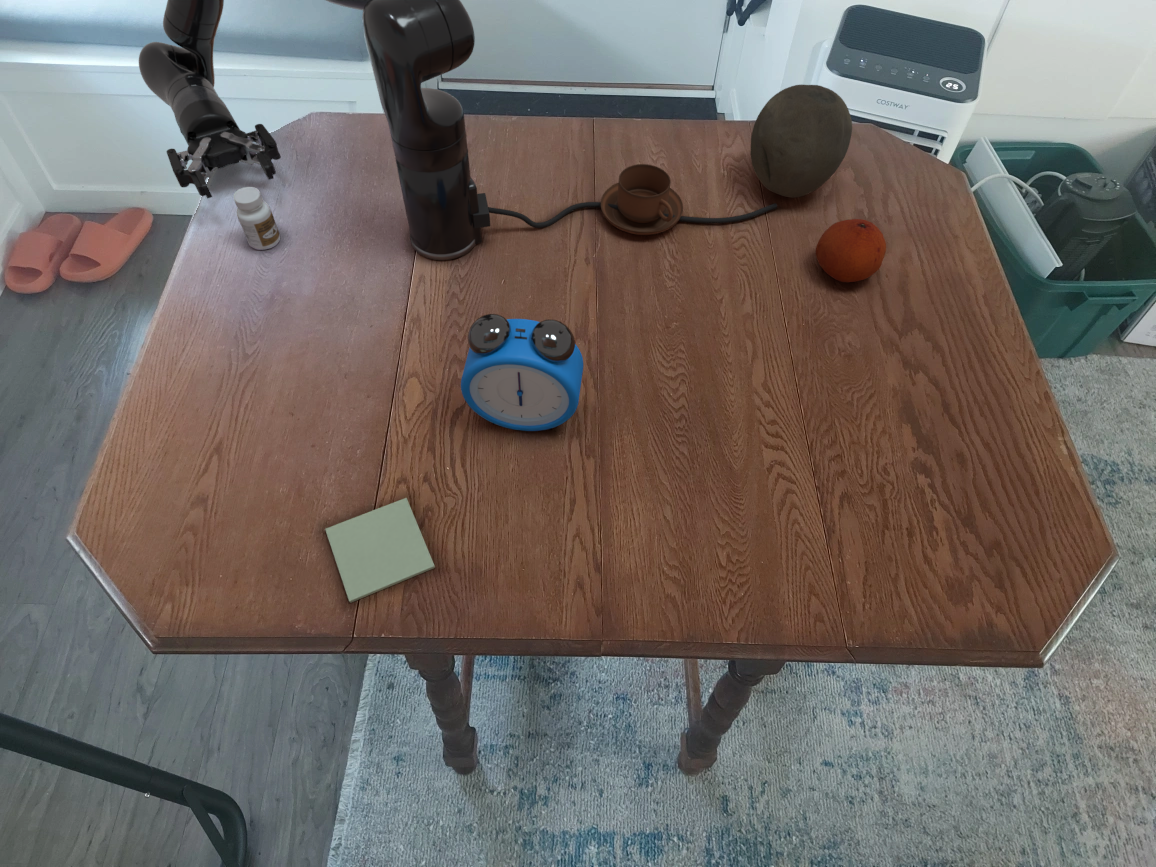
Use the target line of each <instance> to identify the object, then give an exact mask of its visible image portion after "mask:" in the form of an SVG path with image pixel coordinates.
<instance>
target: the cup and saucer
mask: <svg viewBox="0 0 1156 867" xmlns="http://www.w3.org/2000/svg"><path fill="white" fill-rule="evenodd" d="M618 175H619V176H618V182H616V183H614V184H613V185H611V186H609V187H608V188H607V189H606V190H605V191H604V193H603V194H602V196H601V199H600V202H601V208H600V209H601V213H602V215H603V216H604V218H605V219H606V220H607V222H609V224H611V225H612V226H614V227H615V228H617V229H619V230H620V231H623V232H625V233H628V234H633V235H637V236H649V235H656V234H660V233H663V232H665V231H668V230H670V229H671V228H673V227H674V226H675V225H676V224H678V222H680V221H679V219H680V217H681V216H683V212H684V204H683V200H682V199H681V197H680V195H679V194H678V193H677V192H676V191H675V190H674V189H673V188H671V184H672V183H671V182H672V181H671V177H670V175H669V174H668V173H667V171H665V169H663V168H661V167H659V166H657V165H652V164H647V163H638V164H633V165H629V166H628V167H626V168H624V169H623V170H622V171H621V172H620V173H619V174H618ZM608 204H615V205H617V206H618V209H619V210H620V211H619V210H616V209H614V208H611V207H610V206H608ZM664 213H665V214H669V216H668V217H666V216H664V215H663V214H664ZM673 215H675V217H673ZM659 217H661V218H659ZM672 217H673V218H672Z"/></svg>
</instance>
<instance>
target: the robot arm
mask: <svg viewBox="0 0 1156 867" xmlns="http://www.w3.org/2000/svg"><path fill="white" fill-rule="evenodd" d="M325 1H326V2H328V3H331V4H333V5H337V6H339V7H340V6H341V7H344V8H347V9H352V10H353V9H354V10H357V11H362V16H361V21H362V31H363V37H364V42H365V46H366V50H367V53H368V54H367V55H368V58H369V61H370V65H371V68H372V73H373V77H374V81H375V86H376V89H377V92H378V98H379V102H380V105H381V108H382V110H383V113H384V115H385V119H386V122H387V125H388V129H389V130H388V131H389V134H390V138H391V144H392V149H393V154H394V159H395V164H396V169H397V174H398V179H399V185H400V190H401V194H402V200H403V205H404V210H405V215H406V220H407V225H408V231H409V238H410V244H411V246H412V248H413V250H414V251H415V252H416V253H417V254H419V255H420V256H422V257H424V258H427V259H430V260H434V261H449V260H455V259H458V258H460V257H463V256H464V255H466V254H468V253H469V252H470V251H472V249H473V248H474V247H475V246H476V245H478V244H482V242H483V236H482V228H489V227H491V218H490V214H495V215H502V216H508V217H513V218H516V219H520V220H521V221H523V222H524V223H525V224H527V225H528V226H530V227H532V228H534V229H543V228H546V227H549V226H551V225H553V224H555V223H556V222H558V221H560V220H561V219H562V218H564V217H565V216H567V215H568V214H570V213H572V212H575V211H577V210H580V209H587V208H596V209H597V208H598V209H599V208H600V209H601V201H587V202H578V203H575V204H572V205H570V206H568V207H566V208H565V209H563V210H562V211H560V212H559V213H558V214H556V215H555V216H553V217H552V218H549V219H548V220H545V221H542V222H541V221H540V222H539V221H538V222H535V221H533V220H532V219H531V218H530V217H528V216H526V215H525V214H523V213H522V212H519V211H518V212H517V211H514V210H509V209H505V208H504V209H503V208H496V207H491V206H489V204H488V200H487V194H486V193H485V192H479V193H478V186H477V184H476V183H475V181H474V180H473V178H472V176H471V167H470V159H469V148H468V140H467V129H466V122H465V113H464V109H463V105H462V103H461V102H460V100H458V99H457V98H456V97H455V96H454V95H452V94H450V93H449V92H447V91H444V90H441V89H437V88H431V87H422V84H423V83H424V82H427V81H429V80H432V79H434V78H437V77H440V76H441V75H444V74H447V73H449V72H451V71H453V70H455V69H457V68H459V67H460V66H462V65H464V63H466V62H468V60H469V59H470V57H471V56H472V54H473V52H474V49H475V45H476V44H475V43H476V36H475V29H474V25H473V22H472V19H471V17H470V14H469V13H468V11H467V9H466V8H465V6H464V4H463V3H462V1H461V0H325ZM224 4H225V0H167V2H166V5H165V10H164V14H163V17H162V18H163V20H162V28H163V31H164V33H165V35H166V36H167V37H168V39H169V40H170V41H171V42H173V43H174V44H176V45H172V44H169V43H165V42H162V41H161V42H159V41H152V42H148V43H147V44H145V45H144V46H143V47H142V48H141V49H140V52H139V54H138V68H139V73H140V75H141V78H142V80H143V82H144V83H145V85H146V86H147V87H148V89H149V90H150V91H151V92H152V93H153V94H154V95H155V96H156V97H158V98H159V99H160V100H161V101H163V103H165V104H166V105H168V106H169V107H170V108H171V110H172V113H173V114H174V118H175V119H174V120H175V122H176V125H177V126H178V129H179V131H180V134H181V135H182V136H183V138H184V140H185V142H186V144H187V149H186V150H183V151H180V152H177V151H176V149H175V148H169V149H167V150H166V155H167V157H168V160H169V164H170V166H171V169H172V172H173V174H174V176H175V178H176V180H177V182H178V184H179V186H180V187H181V188H187V187H189V185H194V187H195V188H196V190H197V192H198V195H200V196H201V197H204V196H205V197H206V199H211V198H213V195H212V192H211V190H210V188H209V186H208V183H207V182H206V180H207V179H208V178H212V176H213V174H214V173H215V171H216V169H218V170H219V169H222V168H225V167H226V166H229V165H236V164H239V163H243V164H247V165H249V166H250V165H251V166H253V165H254V164H256V165H259V166H260V168H261V169H262V171H263V172H264V174H265V176H266V178H267V179H268V180H269V181H270V180H273V179H274V175H276V174H277V173H276V172H277V171H276V168H275V165H274V163H273V161H272V160H274V161H277V160H280V159H281V153H280V151H279V148H278V145H277V142H276V140H275V138H274V137H273V136H272V135H271V133H270V132H269V131H268V129H267V128H266V127H265V126H264V124H262V123H257V124H255V125H254V129H255V130H253V131H249V132H245V131H243V130H241V129H240V127H239V125H238V124H237V121H236V120H235V118H234V117H233V116H232V113H231V111H230V110H229V108H228V107H227V105H226V103H225V102H224V101H223V100H222V99H221V98H220V96H219V95H218V93H217V91H216V89H215V83H216V82H215V67H214V66H215V65H214V48H215V38H216V35H217V32H218V29H219V25H220V22H221V18H222V15H223V11H224ZM190 160H191V163H190V164H189V166H188V167H187V165H188V162H189V161H190ZM608 206H610V207H611V208H614V209H616V210H619V209H618V206H617V205H615V204H608ZM776 209H778V204H777V203H772V204H769V205H766V206H764V207H761V208H759V209H756V210H754V211H752V212H748V213H745V214H741V215H735V216H727V217H698V216H687V215H681V217H680V219H679V221H678V222H682V223H683V222H684V223H692V224H693V223H694V224H695V223H696V224H711V225H713V224H728V223H729V224H730V223H735V222H736V223H737V222H742V221H745V220H749V219H752V218H755V217H757V216H760V215H762V214H765V213H768V212H771V211H773V210H776ZM619 211H620V210H619ZM663 215H664V216H666V217H668V216H669V214H665V213H664V214H663ZM673 217H675V215H673ZM673 217H672V218H673ZM659 218H661V217H659Z"/></svg>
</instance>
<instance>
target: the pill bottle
mask: <svg viewBox="0 0 1156 867" xmlns="http://www.w3.org/2000/svg"><path fill="white" fill-rule="evenodd" d="M233 201H234V204H235V206H236V208H237V209H236V217H237V220H238V222H239V225H240V227H241V229H242V232H243V233H244V235H245V238H246V240H247V243H248V245H249V247H251V248H253V249H255V250H257V251H258V250H259V251H265V250H270V249H272V248H274V247H276V246H277V245H278V244H279V242H280V240H281V234H280V231H279V228H278V226H277V222H276V220H275V217H274V215H273V211H272V209H271V207H270V205H269V204H268V203H267V202H266V201H265V200H264V199H263V196H262V194H261V191H260V190H259V189H258V188H256V187H254V186H244V187H241V188H239V189H238V190H236V191H235V192H234V194H233Z"/></svg>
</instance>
